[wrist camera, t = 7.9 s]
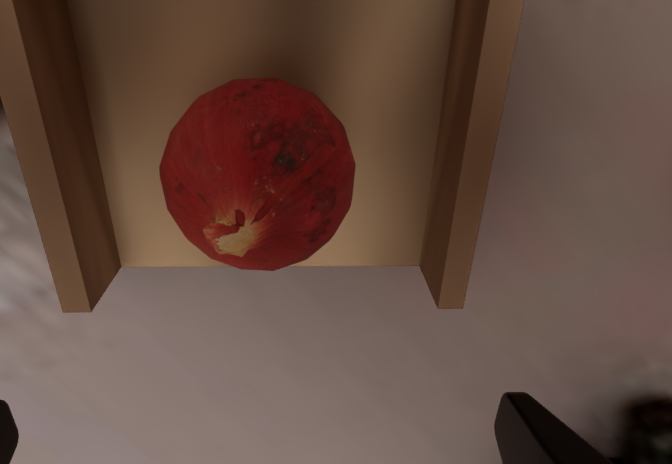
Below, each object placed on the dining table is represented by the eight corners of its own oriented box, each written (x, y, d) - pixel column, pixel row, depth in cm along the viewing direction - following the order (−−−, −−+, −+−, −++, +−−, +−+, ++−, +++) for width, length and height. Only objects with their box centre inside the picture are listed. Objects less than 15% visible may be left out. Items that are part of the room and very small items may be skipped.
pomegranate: (270, 24, 16) (218, 49, 9) (382, 143, 18) (414, 242, 11) (168, 140, 18) (56, 239, 11) (279, 236, 20) (247, 374, 12)
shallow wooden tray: (490, -56, 16) (537, -69, 12) (439, 262, 21) (462, 308, 18) (21, -80, 14) (-56, -100, 11) (99, 263, 20) (62, 312, 17)
